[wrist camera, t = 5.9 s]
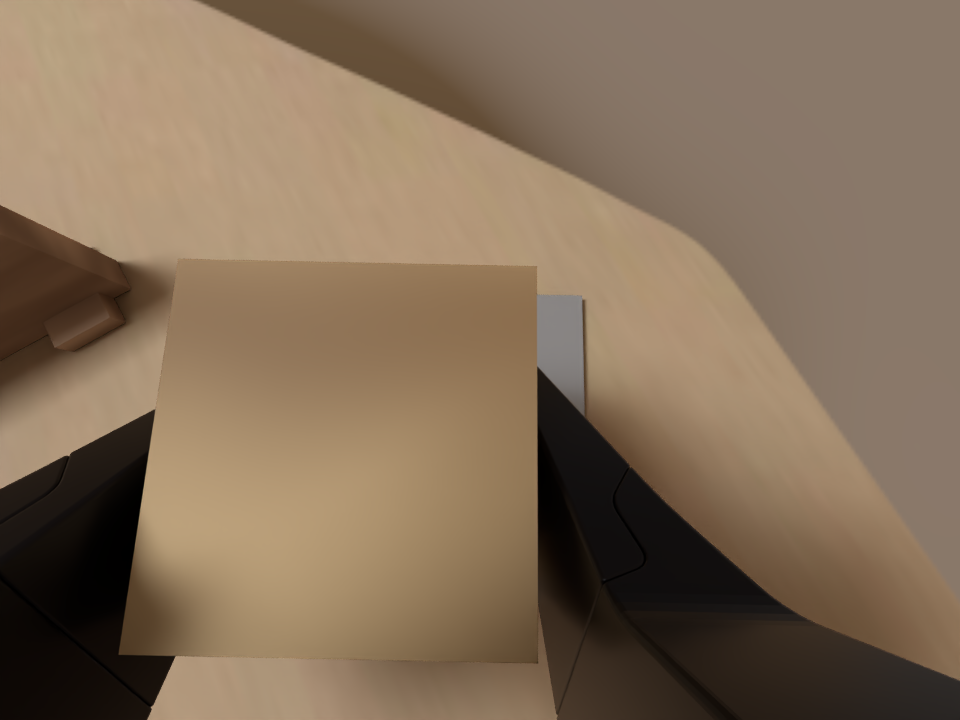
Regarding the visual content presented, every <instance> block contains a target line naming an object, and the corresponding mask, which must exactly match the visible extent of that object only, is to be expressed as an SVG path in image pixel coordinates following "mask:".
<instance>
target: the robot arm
mask: <svg viewBox="0 0 960 720" xmlns="http://www.w3.org/2000/svg"><path fill="white" fill-rule="evenodd" d="M154 416H155V410H153V411H151V412H149V413H147V414H145V415H143V416H141V417H139V418H137V419H135V420H133V421H131V422H130V423H128V424H126V425H124V426H122V427H120V428H118V429H116V430H114V431H112V432H110V433H108V434H107V435H105V436H103V437H101V438H99V439H97V440H95V441H93V442H91V443H89V444H87V445H85V446H83V447H82V448H80V449H78V450H76V451H74V452H72V453H71V454H70V456H64V457H62V458H60V459H58V460H56V461H54V462H53V463H51V464H49V465H47V466H45V467H43V468H41V469H39V470H37V471H35V472H33V473H31V474H29V475H27V476H25V477H23V478H21V479H19V480H17V481H15V482H13V483H11V484H9V485H7V486H5V487H3V488H1V489H0V720H147V719H148V717H149V714H150V712H151V710H152V709H151V706H153V705H154V703H155V700H156V698H157V696H158V694H159V692H160V689H161V687H162V685H163V683H164V681H165V678H166V676H167V674H168V672H169V670H170V667H171V665H172V663H173V661H174V659H175V656H154V655H119V648H120V642H121V635H122V629H123V622H124V615H125V609H126V602H127V595H128V589H129V582H130V575H131V569H132V562H133V555H134V549H135V542H136V536H137V529H138V522H139V516H140V509H141V502H142V496H143V489H144V482H145V476H146V469H147V463H148V456H149V449H150V443H151V436H152V429H153V423H154ZM629 467H630V465H629V464H628V463H627V462H626V461H625V460H624V458H623V457H622V456H621V455H620V454H619V453H618V452H617V451H616V450H615V449H614V448H613V447H612V446H611V444H610V443H609V442H608V441H607V440H606V439H605V438H604V437H603V436H602V435H601V434H600V433H599V432H598V431H597V429H596V428H595V427H594V426H593V425H592V424H591V423H590V422H589V421H588V420H587V419H586V418H585V417H584V415H583V414H582V413H581V412H580V411H579V410H578V409H577V408H576V407H575V406H574V405H573V404H572V403H571V402H570V400H569V399H568V398H567V397H566V396H565V395H564V394H563V393H562V392H561V391H560V390H559V389H558V388H557V386H556V385H555V384H554V383H553V382H552V381H551V380H550V379H549V378H548V377H547V376H546V375H545V374H544V373H543V371H542V370H541V369H540V368H539V367H538V366H537V494H538V606H539V612H540V618H541V624H542V630H543V636H544V642H545V648H546V654H547V660H548V666H549V672H550V678H551V684H552V691H553V697H554V703H555V709H556V714H557V715H558V716H557V720H960V681H959V680H957V679H954V678H951V677H949V676H946V675H944V674H941V673H939V672H936V671H934V670H931V669H929V668H926V667H924V666H921V665H919V664H916V663H914V662H911V661H909V660H906V659H904V658H901V657H899V656H896V655H894V654H891V653H889V652H886V651H884V650H881V649H879V648H876V647H874V646H871V645H869V644H866V643H864V642H861V641H859V640H856V639H854V638H851V637H849V636H846V635H844V634H841V633H839V632H836V631H834V630H831V629H829V628H826V627H824V626H821V625H819V624H817V623H814V622H812V621H810V620H808V619H806V618H804V617H802V616H801V615H799V614H797V613H796V612H794V611H792V610H791V609H789V608H788V607H786V606H784V605H783V604H782V603H780V602H779V601H778V600H776V599H775V598H773V597H772V596H771V595H769V594H768V593H767V592H766V591H765V590H763V589H762V588H761V587H760V586H759V585H757V584H756V583H755V582H754V581H753V580H752V579H751V578H750V577H748V576H747V575H746V574H745V573H744V572H743V571H742V570H740V569H739V568H738V567H737V566H736V565H735V564H734V563H733V562H731V561H730V560H729V559H728V558H727V557H726V556H725V555H724V554H722V553H721V552H720V551H719V550H718V549H717V548H716V547H714V546H713V545H712V544H711V543H710V542H709V541H708V540H707V539H705V538H704V537H703V536H702V535H701V534H700V533H699V532H698V531H696V530H695V529H694V528H693V527H692V526H691V525H690V524H689V523H688V522H686V521H685V520H684V519H683V518H682V517H681V516H680V515H679V514H678V513H677V512H676V511H675V510H673V509H672V508H671V507H670V506H669V505H668V504H667V503H666V502H665V501H664V500H663V499H662V498H661V497H660V496H659V495H658V494H657V493H656V492H655V491H654V490H653V489H652V488H651V487H650V486H649V485H648V484H647V483H646V482H645V481H644V480H643V479H642V478H641V476H640V475H639V474H638V473H637V472H636V471H635V470H634V469H633V468H629Z"/></svg>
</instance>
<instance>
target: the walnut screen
mask: <svg viewBox="0 0 960 720" xmlns="http://www.w3.org/2000/svg"><path fill="white" fill-rule="evenodd" d="M130 289H131V288H130V286H129V284H128V282H127V280H126V278H125V276H124V274H123V272H122V270H121V268H120V266H119V264H118V262H117V261H116V260H114V259H112V258H110V257H107V256H105V255H103V254H101V253H99V252H97V251H95V250H93V249H91V248H89V247H87V246H85V245H83V244H81V243H79V242H76V241H74V240H72V239H70V238H68V237H66V236H64V235H61V234H59V233H57V232H55V231H53V230H51V229H49V228H47V227H45V226H43V225H41V224H38V223H36V222H34V221H32V220H30V219H28V218H26V217H24V216H22V215H20V214H18V213H15V212H13V211H11V210H9V209H7V208H5V207H3V206H1V205H0V360H2V359H4V358H6V357H8V356H9V355H11V354H13V353H15V352H17V351H18V350H20V349H22V348H24V347H26V346H28V345H29V344H31V343H33V342H35V341H37V340H39V339H40V338H42V337H44V336H46V335H48V334H49V336H50V339H51V341H52V343H53V345H54V347H55V348H58V349H63V350H68V351H75V350H77V349H79V348H80V347H82V346H84V345H86V344H88V343H89V342H91V341H93V340H95V339H97V338H98V337H100V336H102V335H104V334H106V333H107V332H109V331H111V330H113V329H115V328H116V327H118V326H120V325H122V324H124V323H125V320H124V318H123V316H122V314H121V312H120V310H119V308H118V306H117V304H116V302H115V300H114V298H115V297H117V296H119V295H121V294H123V293H124V292H126V291H128V290H130Z"/></svg>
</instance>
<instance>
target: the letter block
mask: <svg viewBox="0 0 960 720" xmlns="http://www.w3.org/2000/svg"><path fill="white" fill-rule="evenodd" d="M119 655H154V656H203V657H251V658H300V659H348V660H397V661H445V662H493V663H538V494H537V266H498V265H450V264H401V263H352V262H304V261H255V260H206V259H178V263H177V270H176V277H175V283H174V290H173V297H172V303H171V310H170V316H169V323H168V330H167V336H166V343H165V350H164V356H163V363H162V370H161V376H160V383H159V389H158V396H157V403H156V409H155V416H154V423H153V429H152V436H151V443H150V449H149V456H148V463H147V469H146V476H145V482H144V489H143V496H142V502H141V509H140V516H139V522H138V529H137V536H136V542H135V549H134V555H133V562H132V569H131V575H130V582H129V589H128V595H127V602H126V609H125V615H124V622H123V629H122V635H121V642H120V648H119Z"/></svg>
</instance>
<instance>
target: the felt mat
mask: <svg viewBox="0 0 960 720" xmlns="http://www.w3.org/2000/svg"><path fill="white" fill-rule="evenodd" d="M537 366H538V367H539V368H540V369H541V370H542V371H543V373H544V374H545V375H546V376H547V377H548V378H549V379H550V380H551V381H552V382H553V383H554V384H555V385H556V386H557V388H558V389H559V390H560V391H561V392H562V393H563V394H564V395H565V396H566V397H567V398H568V399H569V400H570V402H571V403H572V404H573V405H574V406H575V407H576V408H577V409H578V410H579V411H580V412H581V413H582V414H583V415H584V417H585V412H584V364H583V317H582V296H573V295H537Z"/></svg>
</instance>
